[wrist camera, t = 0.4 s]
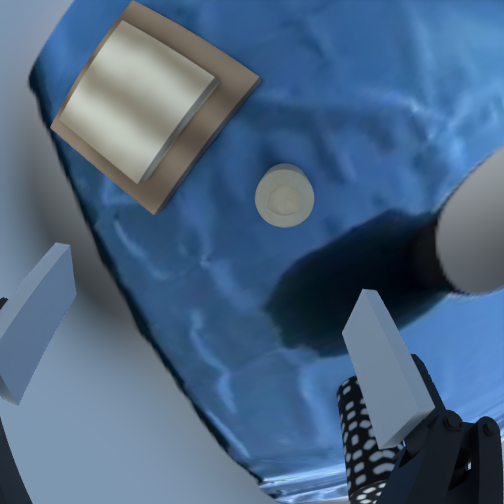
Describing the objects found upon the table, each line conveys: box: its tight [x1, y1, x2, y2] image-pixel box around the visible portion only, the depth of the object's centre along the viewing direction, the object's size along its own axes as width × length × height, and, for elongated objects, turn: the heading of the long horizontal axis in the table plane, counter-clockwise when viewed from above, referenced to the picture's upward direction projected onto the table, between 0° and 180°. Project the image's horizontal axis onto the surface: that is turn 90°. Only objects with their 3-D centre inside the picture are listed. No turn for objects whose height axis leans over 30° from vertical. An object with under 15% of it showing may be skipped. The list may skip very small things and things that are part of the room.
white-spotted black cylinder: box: [337, 376, 404, 504], centre depth 37 cm, size 8×8×20 cm
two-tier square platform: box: [50, 1, 262, 215], centre depth 32 cm, size 20×20×6 cm
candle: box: [255, 163, 314, 228], centre depth 33 cm, size 6×6×10 cm
